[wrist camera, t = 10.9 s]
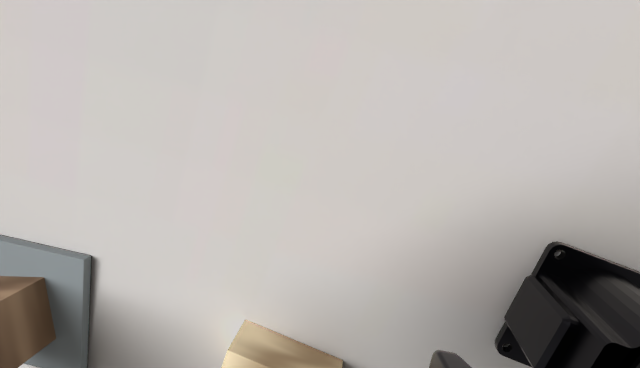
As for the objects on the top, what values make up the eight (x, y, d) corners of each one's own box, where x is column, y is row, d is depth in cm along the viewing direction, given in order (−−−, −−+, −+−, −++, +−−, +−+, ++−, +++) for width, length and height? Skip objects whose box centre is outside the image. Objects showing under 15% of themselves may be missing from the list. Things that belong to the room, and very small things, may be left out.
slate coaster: (91, 255, 23) (83, 259, 22) (86, 371, 25) (80, 378, 24) (-32, 227, 24) (-42, 230, 23) (-27, 342, 26) (-36, 347, 25)
